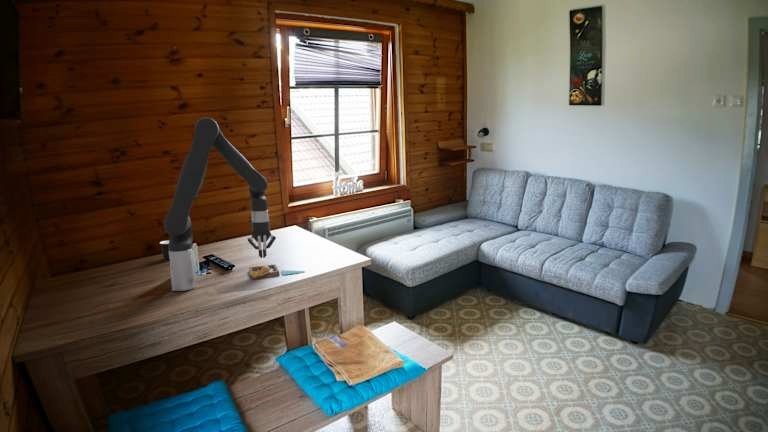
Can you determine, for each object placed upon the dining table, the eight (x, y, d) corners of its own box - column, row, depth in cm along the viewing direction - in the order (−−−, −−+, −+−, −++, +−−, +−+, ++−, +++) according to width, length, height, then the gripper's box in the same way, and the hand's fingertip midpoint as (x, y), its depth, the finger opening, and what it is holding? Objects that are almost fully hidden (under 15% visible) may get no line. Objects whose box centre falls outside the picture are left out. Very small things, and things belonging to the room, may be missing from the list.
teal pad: (283, 275, 198) (283, 274, 198) (279, 270, 208) (279, 269, 207) (305, 272, 202) (305, 271, 202) (300, 267, 211) (300, 266, 211)
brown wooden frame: (252, 279, 194) (251, 274, 194) (249, 271, 207) (249, 267, 207) (279, 275, 198) (279, 271, 198) (275, 268, 211) (275, 264, 211)
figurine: (276, 266, 201) (263, 264, 190) (274, 279, 200) (261, 277, 189) (260, 265, 203) (246, 262, 192) (258, 278, 202) (243, 276, 191)
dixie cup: (179, 262, 229) (177, 241, 227) (162, 264, 225) (160, 244, 223) (176, 259, 235) (174, 239, 234) (160, 261, 231) (158, 241, 229)
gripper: (245, 222, 193) (248, 261, 196) (276, 220, 198) (278, 257, 200) (244, 220, 200) (247, 257, 203) (274, 218, 205) (276, 254, 207)
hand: (262, 257), depth 201 cm, fingers closed
